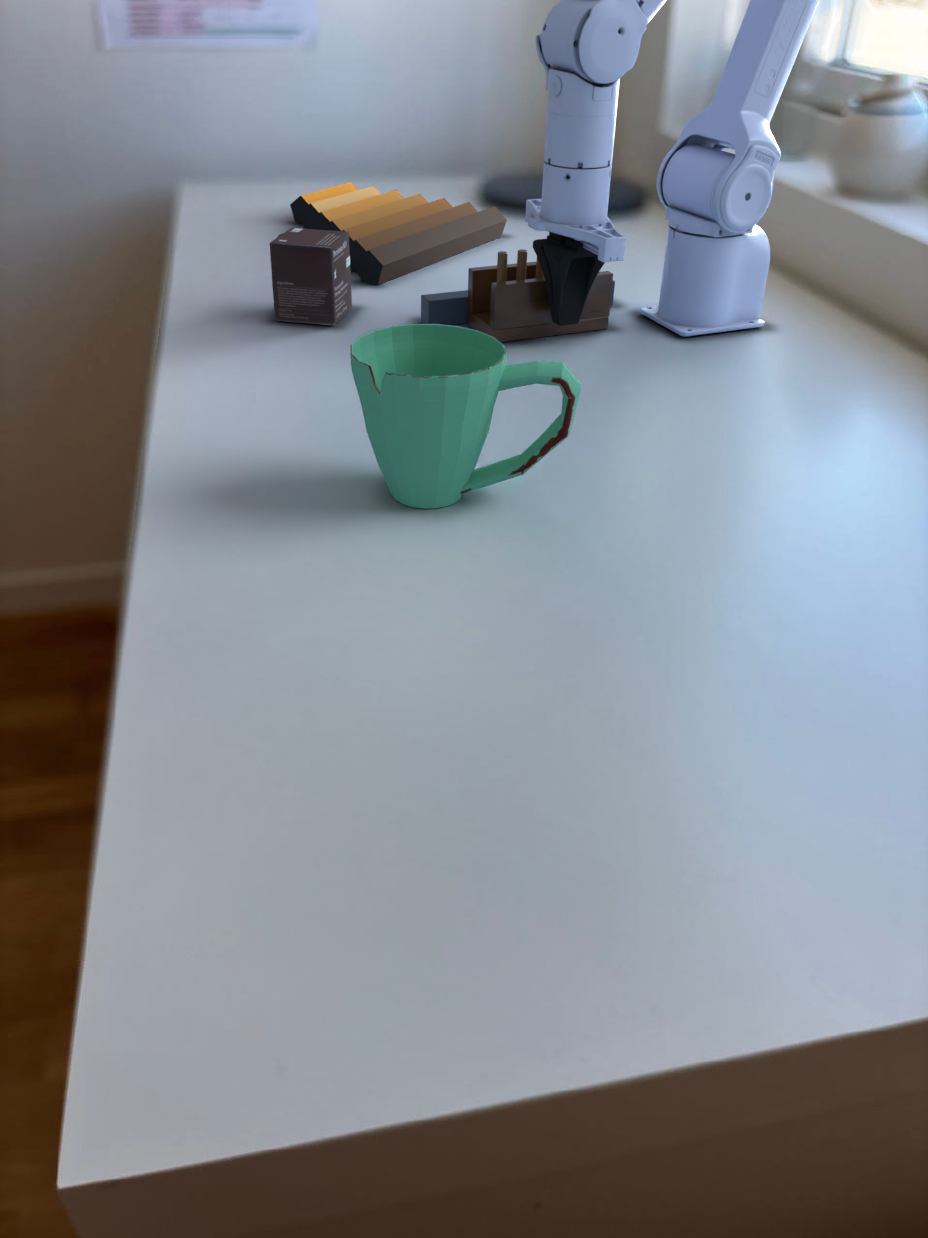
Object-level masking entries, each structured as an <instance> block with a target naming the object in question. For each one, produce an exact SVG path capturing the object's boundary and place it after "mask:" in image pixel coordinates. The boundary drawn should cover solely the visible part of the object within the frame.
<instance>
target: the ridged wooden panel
mask: <svg viewBox="0 0 928 1238" xmlns="http://www.w3.org/2000/svg"><path fill="white" fill-rule="evenodd" d="M289 206H290V210H291V213H292V216H293V220H294V223H295V224H298V225H302V227H303V229H315V230H330V231H344V232H349V247H350V248H349V249H350V270H351V272H355V273H358V276H359V279H360V282H362V283H368V284H371V285H376V286H379V285H381V284H384V283H386V282H389V281H392V280H395V279H396V278H397V279H398V278H400V277H403V276H404V275H407V274H410V273H412V272H415V271H418V270H420V269H422V268H426V267H427V266H430V265H433V264H435V263H438V262H441V261H443V260H445V259H448V258H450V257H451V258H452V257H453V256H456V255H459V254H461V253H464V252H466V251H470V250H471V249H474V248H476V247H479V246H482V245H484V244H487V243H489V242H492V241H494V240H497V239H500V238H502V235H503V233H504V230H505V227H506V224H507V221H508V219H507V218H506V217H505V216H504V215H503V213H501V211H500V210H499V209H498V208H497V207H496V206H495V205H494V206H492V207H488V208H485V209H481V210H480V211H478V209H476V208H475V207H474V206H473V204H472V203H471V202H470V201H467V202H465V203H461V204H459V205H455V206H453V205H452V204H451V203H450V202H449V201H448V200H447V199H446V198H445V197H442V198H439V199H436V200H433V201H430V202H429V201H428V200H427V199H426V198H425V197H424V196H423V195H422V194H421V193H418V194H415V195H411V196H408V197H404V196H403V195H402V194H401V192H399V190H398V189H394V190H391V191H386V192H384V193H381V192H380V191H379V190H378V189H377V187H376V186H374V185H372V186H368V187H367V186H366V187H365V188H360V189H358V188H357V186H356V185H355V184H354V183H353V182H352V181H349V182H346V183H342V184H338V185H335V186H330V187H328V188H324V189H320V190H316V191H312V192H308V193H305V194H301V195H300V196H298V197H297V198H296V199H295V200H294V201H292V202H291V203H290V204H289Z"/></svg>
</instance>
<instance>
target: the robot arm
mask: <svg viewBox="0 0 928 1238" xmlns="http://www.w3.org/2000/svg"><path fill="white" fill-rule="evenodd" d="M667 1H668V0H560V1H559V2H557V3H556V4H555V5H554V6H553V7H552V8H551V10H550V11H549V12H548V14H547V16H546V18H545V20H544V22H543V26H542V30H541V33H540V34H536V36H535V49H536V54H537V57H538V60H539V62H540V64H541V65H542V67H543V69H544V71H545V91H547V101H546V118H545V132H544V133H545V134H544V149H543V167H542V183H541V198H531V199H526V200H525V218H524V221H525V222H526V223H527V227H528V228H530V229H532V230H534V231H537V232H538V231H539V232H543V231H545V232H548V235H546V238H539V239H534V240H533V241H532V249H533V251H534V253H535V255H536V258H537V257H538V260H539V262H540V265H541V268H542V271H543V274H544V278H545V282H546V287H547V293H548V299H549V306H550V312H551V317H552V321H553V322H554V323H555V324H557V325H558V326H564V325H572V324H578V323H579V320H580V318H581V315H582V312H583V309H584V306H585V303H586V300H587V297H588V294H589V291H590V289H591V287H592V284H593V282H594V280H595V278H596V276H597V274H598V273H599V272H601V269H602V268H603V267H604V265H605V264H606V263H611V262H622V261H624V260H625V254H626V244H627V243H626V242H627V236H626V235H624V234H623V233H621V232H619V230H618V229H617V228H616V227H615V225H614V223H613V222H612V220H611V219H610V218H609V217H608V211H609V202H610V201H609V200H610V199H609V198H610V190H611V188H610V187H611V178H612V168H613V157H614V145H615V137H616V136H615V135H616V127H617V126H616V124H617V114H618V105H619V104H618V103H619V93H620V92H619V91H620V82H621V78H622V77H623V76H624V75H626V74H627V73H628V72H629V71H630V70H632V69H633V68H634V66H635V64H636V61H637V59H638V56H639V53H640V49H641V43H642V42H641V41H642V37H643V35H644V33H646V31H647V30H648V28H647V25H648V24H649V23H650V22H651V20H652V19H654V17H655V16H656V14H657V13H658V12H659V11H660V9H662V7H663V6H664V5H665V3H666V2H667ZM819 2H820V0H749V2H748V6H747V7H746V10H745V13H744V16H743V18H742V21H741V24H740V27H739V29H738V31H737V33H736V34H737V35H736V37H735V40H734V42H733V45H732V47H731V50H730V53H729V55H728V58H727V60H726V62H725V63H726V64H725V65H724V68H723V70H722V74H721V76H720V79H719V81H718V84H717V86H716V89H715V92H714V95H713V97H712V99H711V102H710V104H709V105H708V106H707V107H705V108H704V109H703V110H701V111H700V112H699V113H697V114H696V115H694V116H693V117H692V118H690V119H689V120H688V121H686V122H685V123H684V125H683V126H682V130H681V133H680V135H679V137H678V139H677V141H676V143H675V144H674V145H673V146H672V148H671V149H670V150H669V151H668V153H666V155H665V156H664V158H663V159H662V161H661V163H660V166H659V168H658V171H657V175H656V194H657V197H658V199H659V201H660V203H661V205H662V206H663V207H664V208H665V217H664V220H665V221H668V226H667V227H668V228H667V233H666V242H665V248H664V249H665V250H664V257H663V265H662V273H661V283H660V290H659V297H658V298H659V299H658V305H653V306H651V305H650V306H642V307H639V313H640V314H641V315H643V316H645V317H646V318H648V319H649V320H652V321H654V322H656V323H657V324H659V325H661V326H662V327H663V328H666V329H668V330H670V331H671V332H673V333H675V334H677V335H679V336H680V337H692V336H699V335H700V336H701V335H710V334H715V333H716V334H717V333H724V332H732V331H738V330H748V329H754V328H762V327H764V326H765V324H766V322H765V320H764V319H761V316H762V309H763V304H764V303H763V302H764V297H765V291H766V285H767V281H768V280H767V279H768V275H769V274H768V273H769V268H770V264H771V263H770V262H771V246H770V242H769V239H768V236H767V234H766V233H765V231H764V230H763V229H762V227H760V226H759V225H758V223H759V222H760V220H762V218H763V217H764V215H765V214H766V212H767V210H768V209H769V206H770V204H771V200H772V198H773V191H774V179H775V174H776V171H777V167H778V164H779V162H780V159H781V157H782V152H781V149H780V147H779V145H778V143H777V141H776V138H775V136H774V135H773V133H772V131H771V127H770V123H771V121H772V118H773V116H774V113H775V111H776V108H777V106H778V103H779V102H780V98H781V96H782V93H783V91H784V88H785V87H786V84H787V81H788V78H789V77H790V74H791V71H792V70H793V66H794V64H795V62H796V59H797V56H798V54H799V53H800V52H799V51H800V49H801V47H802V44H803V42H804V40H805V37H806V34H807V32H808V31H809V27H810V24H811V22H812V19H813V17H814V15H815V12H816V10H817V7H818V5H819ZM726 150H733V151H734V153H732V152H728V151H726Z"/></svg>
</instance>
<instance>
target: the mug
mask: <svg viewBox="0 0 928 1238" xmlns="http://www.w3.org/2000/svg"><path fill="white" fill-rule="evenodd" d="M349 354H350V368H351V373H352V377H353V381H354V383H355V384H354V385H355V388H356V391H357V395H358V399H359V401H360V406H361V410H362V416H363V421H364V425H365V429H366V434H367V437H368V440H369V442H370V445H371V448H372V451H373V454H374V457H375V460H376V462H377V465H378V468H379V470H380V472H381V474H382V476H383V478H384V481H385V483H386V485H387V489H388V490H389V492H390V494H391V496H392V498H393V499H394V501H396V502H397V503H400V504H402V505H404V506H406V507H410V508H415V509H423V510H425V509H426V510H429V509H434V510H435V509H440V508H441V509H442V508H446V507H448V506H451V505H454V504H455V503H457V502H458V501H460V500H461V498H462V496H463V495H464V494H466V493H470V492H473V491H477V490H479V489H482V488H486V487H489V486H492V485H495V484H499V483H502V482H505V481H508V480H511V479H514V478H518V477H520V476H523V475H525V474H526V473H527V472H528V471H530V469H532V468H533V467H534V466H535V465H536V464H538V463H539V462H540V461H541V460H542V459H544V458H545V457H546V456H547V455H548V454H549V453H551V452H552V451H553V450H554V449H556V447H558V446H559V445H561V444H562V443H563V442H564V441H565V440H566V439H567V438H569V437H570V436H571V431H572V428H573V424H574V420H575V415H576V412H577V407H578V403H579V399H580V395H581V391H582V388H583V385H582V383H581V382H580V381H579V380H578V379H577V377H576V376H575V375H574V374H573V373H572V371H571V370H570V369H569V368H568V367H567V366H566V365H565V363H564V362H563V361H555V360H553V361H552V360H533V361H525V362H519V363H518V362H517V363H512V364H511V363H510V364H507V356H508V355H507V350H506V347H505V344H503V342H499V341H498V340H497V339H496V338H494V337H493V336H490V335H488V334H485V333H483V332H480V331H478V330H476V329H474V328H468V327H463V326H459V325H453V324H451V325H442V324H424V323H409V324H399V325H391V326H386V327H382V328H377V329H373V330H371V331H368V332H367V333H365V334H362V335H359V336H358V337H357V338H356V339H355V340H354V341H353V342H351V344H350V353H349ZM532 385H546V386H556V387H559V388H560V392H561V394H562V401H561V412H560V414H559V415H558V416H557V417H556V418H555V419H554V420H553V422H552V423H551V424H550V425H549V426H548V427H547V428H546V429H545V431H544V432H543V433H542V434H540V435H539V437H537V439H535V440H534V441H533V442H532V443H531V444H530V445H529V446H528V447H527V448H526V449H525V450H523V452H521V453H520V454H517V455H514V456H510V457H508V458H505V459H502V460H499V461H496V462H493V463H491V464H488V465H485V466H481V467H478V468H476V466H477V464H478V462H479V459H480V457H481V454H482V451H483V448H484V445H485V443H486V440H487V438H488V434H489V433H490V432H489V431H490V428H491V422H492V419H493V414H494V410H495V406H496V405H495V404H496V401H497V398H498V394H499V392H502V391H505V390H510V389H515V388H516V389H517V388H521V387H526V386H527V387H528V386H532Z"/></svg>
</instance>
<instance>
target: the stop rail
mask: <svg viewBox="0 0 928 1238" xmlns="http://www.w3.org/2000/svg"><path fill="white" fill-rule="evenodd" d="M615 287H616V281H615V280H614V279H613V282H612V292H611V302H610V307H613V305H614V297H615ZM467 306H468V289H467V290H455V291H447V292H439V293H438V292H436V293H428V294H421V295H420V322H421V323H422V324H442V325H458V324H459V325H460V324H466V323H467V312H468V311H467ZM467 324H468V323H467Z"/></svg>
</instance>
